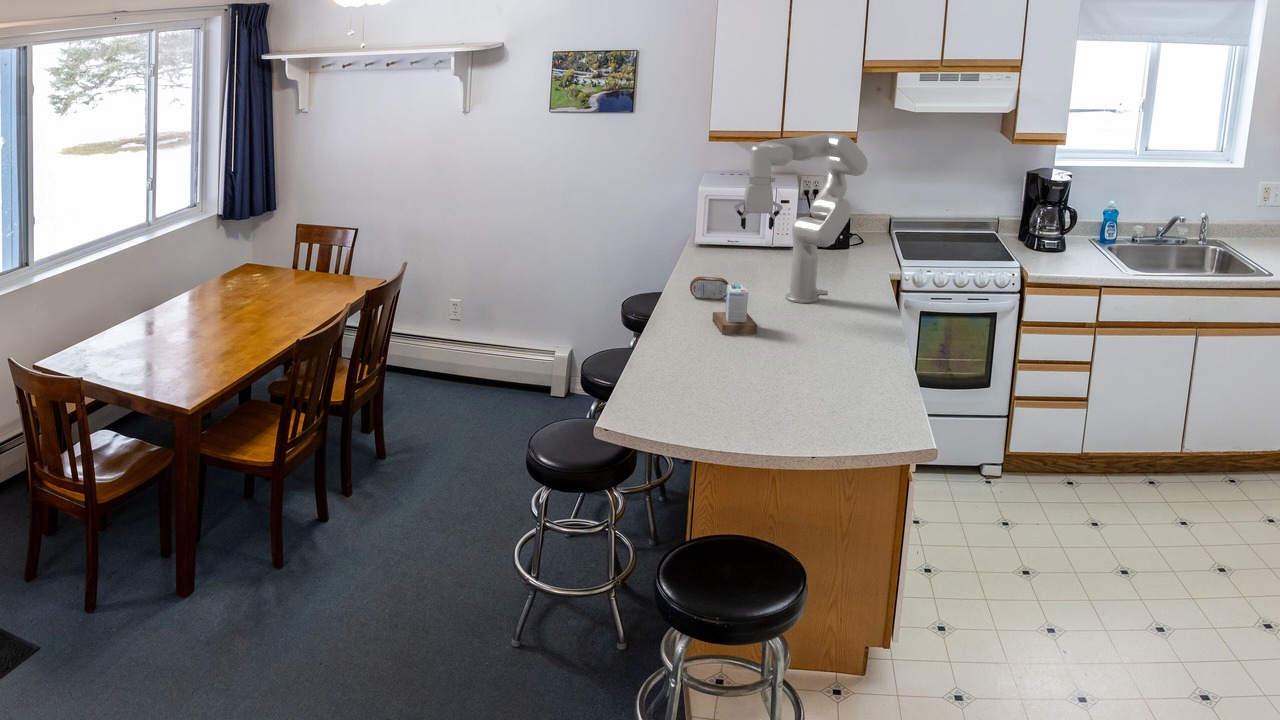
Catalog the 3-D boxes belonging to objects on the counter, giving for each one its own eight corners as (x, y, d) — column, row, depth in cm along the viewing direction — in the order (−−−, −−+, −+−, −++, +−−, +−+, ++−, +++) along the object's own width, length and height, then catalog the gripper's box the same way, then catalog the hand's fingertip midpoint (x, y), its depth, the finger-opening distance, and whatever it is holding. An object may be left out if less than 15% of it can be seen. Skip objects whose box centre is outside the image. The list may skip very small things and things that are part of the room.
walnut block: (745, 322, 368) (746, 311, 367) (756, 335, 353) (757, 324, 352) (712, 322, 366) (712, 312, 365) (722, 336, 351) (722, 325, 350)
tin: (728, 298, 395) (730, 277, 392) (728, 301, 392) (729, 279, 390) (689, 296, 397) (690, 275, 394) (689, 299, 394) (690, 277, 391)
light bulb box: (724, 313, 364) (726, 284, 360) (743, 314, 364) (745, 284, 360) (727, 322, 353) (728, 291, 350) (747, 322, 354) (748, 292, 350)
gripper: (781, 179, 370) (778, 226, 376) (734, 179, 369) (731, 226, 374) (786, 183, 363) (782, 231, 368) (737, 182, 362) (734, 230, 367)
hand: (756, 228), depth 371 cm, fingers open, 9 cm apart
